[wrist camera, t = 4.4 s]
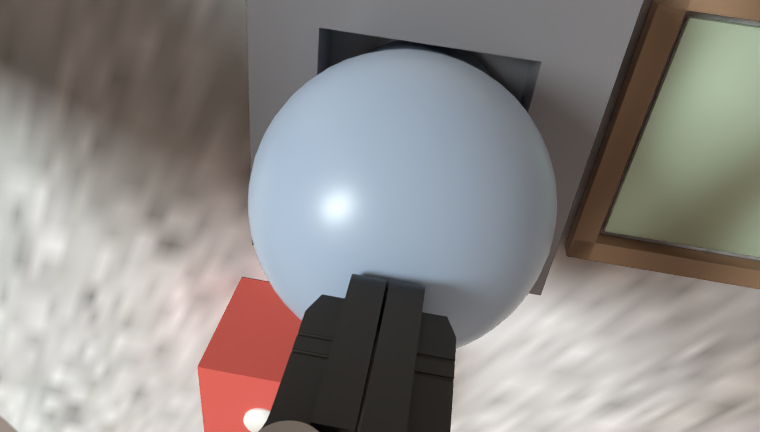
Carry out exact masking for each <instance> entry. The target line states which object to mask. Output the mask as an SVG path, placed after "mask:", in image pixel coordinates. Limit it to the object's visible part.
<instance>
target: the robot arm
mask: <svg viewBox="0 0 760 432" xmlns="http://www.w3.org/2000/svg"><path fill="white" fill-rule="evenodd" d="M386 287H387V280H386V279H380V278H375V277H369V276H363V275H358V274H352V276H351V278H350V282H349V285H348V289H347V293H346V296H345V298H340V297H334V296H329V295H323V294H322V295H321V296H320V297H319V298H318V299H317V300H316V301H315V302H314V303H313V304H312V305H311V306H310V307H309V308H308V309H307V310H306V311H305V313H304V316H303V319H302V322H301V325H300V328H299V331H298V335H297V336H296V339H295V342H294V345H293V348H292V353H291V354H290V356H289V359H288V362H287V365H286V368H285V371H284V374H283V377H282V379H281V382H280V385H279V388H278V391H277V394H276V397H275V400H274V402H273V405H272V408H271V411H270V414H269V416H268V418H267V421H266V422H265V424H264V425H263V427H262V428H261V429H260V430H259V431H258V432H450V428H451V413H452V397H453V379H454V367H455V364H454V362H455V352H456V336H455V333H454V331H453V329H452V327H451V324H450V322H449V320H448V317H447V316H441V315H435V314H430V313H424V312H422V309H423V302H424V294H425V286H421V285H415V284H410V283H404V282H398V281H393V280H390V284H389V289H388V294H387V299H386V304H385V309H384V314H383V319H382V313H383V306H384V300H385V293H386ZM381 320H382V324H381ZM380 327H381V329H380Z"/></svg>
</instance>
